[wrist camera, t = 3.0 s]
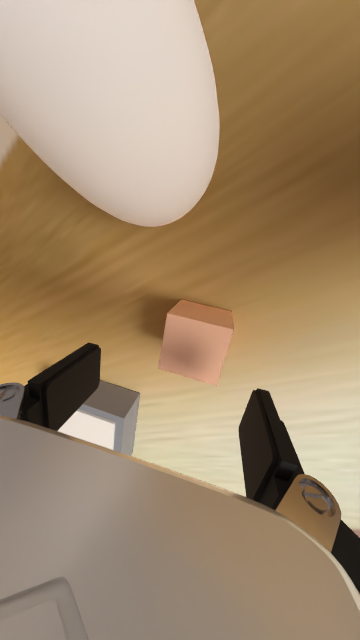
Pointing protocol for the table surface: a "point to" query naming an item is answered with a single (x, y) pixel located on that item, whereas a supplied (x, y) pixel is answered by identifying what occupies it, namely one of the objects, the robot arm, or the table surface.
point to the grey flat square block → (106, 418)
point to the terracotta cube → (196, 341)
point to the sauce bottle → (114, 100)
